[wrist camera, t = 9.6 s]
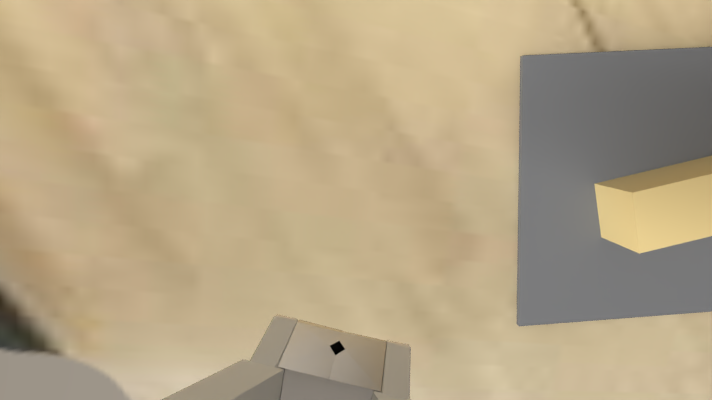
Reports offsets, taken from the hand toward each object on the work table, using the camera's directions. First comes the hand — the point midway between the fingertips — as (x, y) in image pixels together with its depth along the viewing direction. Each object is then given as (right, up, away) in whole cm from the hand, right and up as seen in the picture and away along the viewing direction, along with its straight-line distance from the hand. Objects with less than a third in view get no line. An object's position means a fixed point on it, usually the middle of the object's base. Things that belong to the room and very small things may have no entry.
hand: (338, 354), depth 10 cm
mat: (+25, +4, +30) cm, 40 cm away
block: (+22, +2, +27) cm, 35 cm away
